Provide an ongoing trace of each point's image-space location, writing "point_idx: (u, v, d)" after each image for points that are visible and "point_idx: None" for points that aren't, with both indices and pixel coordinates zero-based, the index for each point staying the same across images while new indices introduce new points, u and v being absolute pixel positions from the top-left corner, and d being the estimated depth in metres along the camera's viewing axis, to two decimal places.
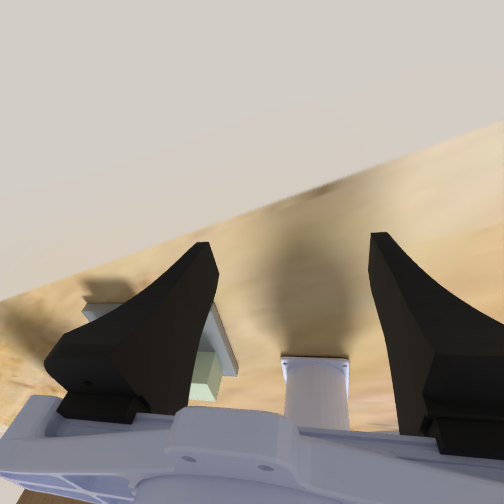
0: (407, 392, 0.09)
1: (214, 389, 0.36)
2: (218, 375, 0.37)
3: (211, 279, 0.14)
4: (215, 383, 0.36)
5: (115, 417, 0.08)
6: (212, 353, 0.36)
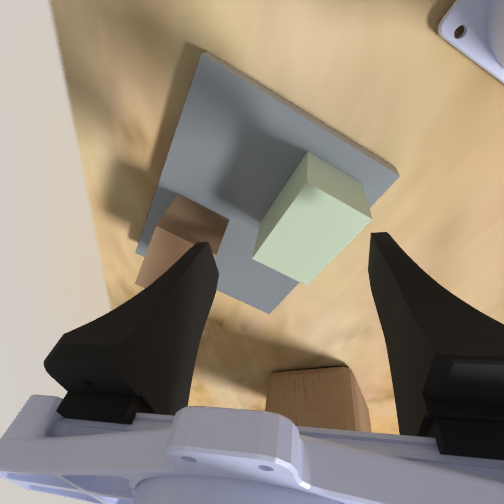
0: (407, 392, 0.09)
1: (349, 199, 0.16)
2: (348, 184, 0.17)
3: (211, 279, 0.14)
4: (343, 191, 0.16)
5: (115, 417, 0.08)
6: (304, 157, 0.18)
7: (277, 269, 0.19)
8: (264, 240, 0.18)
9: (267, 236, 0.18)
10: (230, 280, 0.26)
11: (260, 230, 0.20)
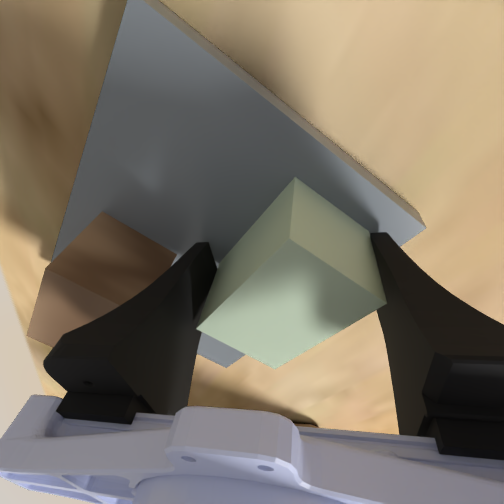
0: (407, 392, 0.09)
1: (353, 266, 0.10)
2: (351, 236, 0.11)
3: (211, 279, 0.14)
4: (344, 250, 0.10)
5: (115, 417, 0.08)
6: (289, 185, 0.12)
7: (233, 346, 0.13)
8: (215, 307, 0.11)
9: (220, 303, 0.11)
10: None
11: (216, 279, 0.14)
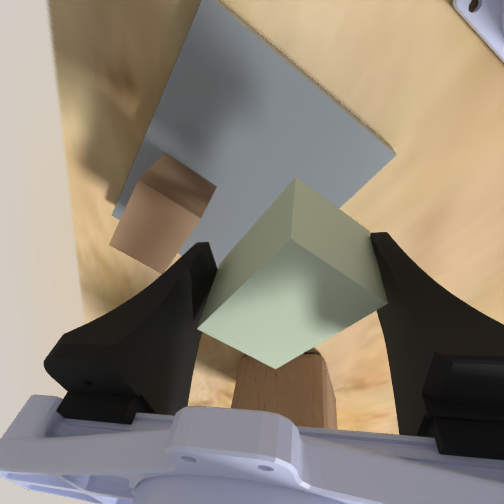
0: (407, 392, 0.09)
1: (354, 266, 0.10)
2: (352, 236, 0.11)
3: (211, 279, 0.14)
4: (345, 250, 0.10)
5: (115, 417, 0.08)
6: (290, 185, 0.12)
7: (234, 346, 0.13)
8: (216, 308, 0.11)
9: (221, 303, 0.11)
10: None
11: (216, 279, 0.14)
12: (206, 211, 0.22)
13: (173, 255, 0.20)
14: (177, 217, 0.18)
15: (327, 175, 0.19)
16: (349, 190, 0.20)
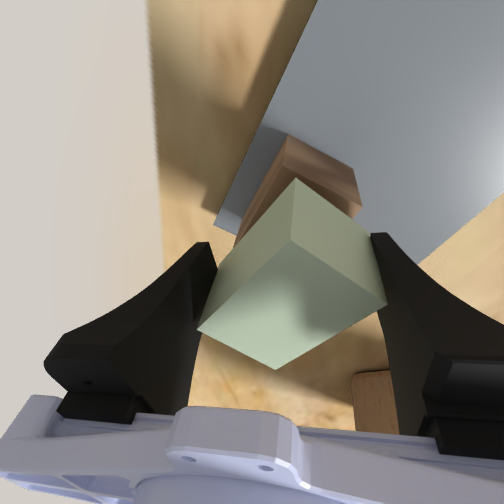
0: (407, 392, 0.09)
1: (354, 267, 0.10)
2: (352, 237, 0.11)
3: (211, 279, 0.14)
4: (345, 251, 0.10)
5: (115, 417, 0.08)
6: (289, 186, 0.12)
7: (234, 346, 0.13)
8: (216, 308, 0.11)
9: (221, 304, 0.11)
10: None
11: (216, 280, 0.14)
12: None
13: None
14: None
15: None
16: None
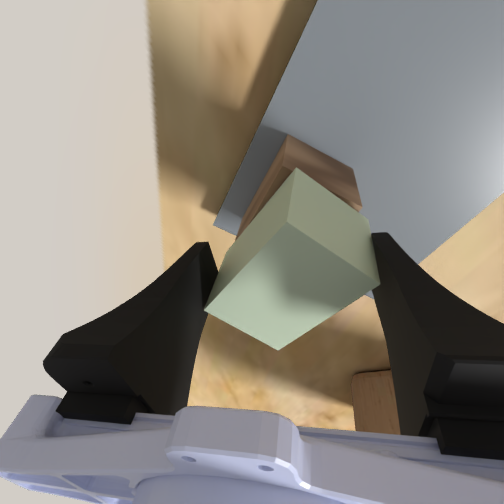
0: (408, 392, 0.08)
1: (348, 250, 0.11)
2: (349, 222, 0.12)
3: (211, 279, 0.14)
4: (341, 234, 0.11)
5: (115, 417, 0.08)
6: (290, 175, 0.13)
7: (238, 327, 0.13)
8: (221, 290, 0.12)
9: (225, 285, 0.12)
10: None
11: (223, 266, 0.15)
12: None
13: None
14: None
15: None
16: None
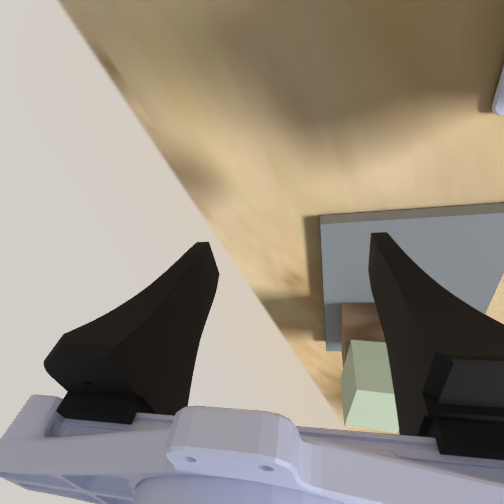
0: (407, 392, 0.09)
1: None
2: None
3: (211, 279, 0.14)
4: (388, 374, 0.21)
5: (115, 417, 0.08)
6: (350, 344, 0.24)
7: (367, 428, 0.24)
8: (347, 415, 0.23)
9: (348, 413, 0.23)
10: None
11: (342, 392, 0.26)
12: None
13: None
14: None
15: (476, 253, 0.22)
16: None
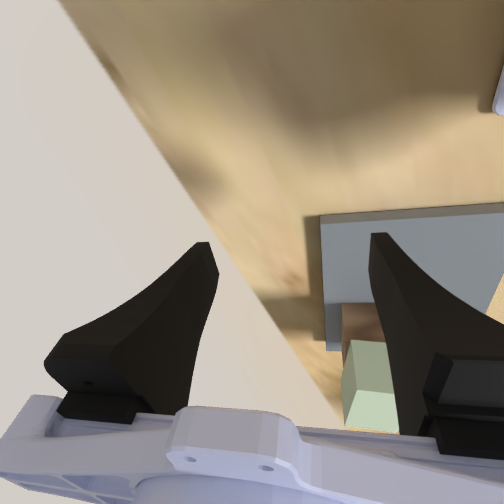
0: (407, 392, 0.09)
1: None
2: None
3: (211, 279, 0.14)
4: (388, 374, 0.21)
5: (115, 417, 0.08)
6: (350, 344, 0.24)
7: (367, 428, 0.24)
8: (347, 415, 0.23)
9: (348, 413, 0.23)
10: None
11: (342, 392, 0.26)
12: None
13: None
14: None
15: (476, 253, 0.22)
16: None
